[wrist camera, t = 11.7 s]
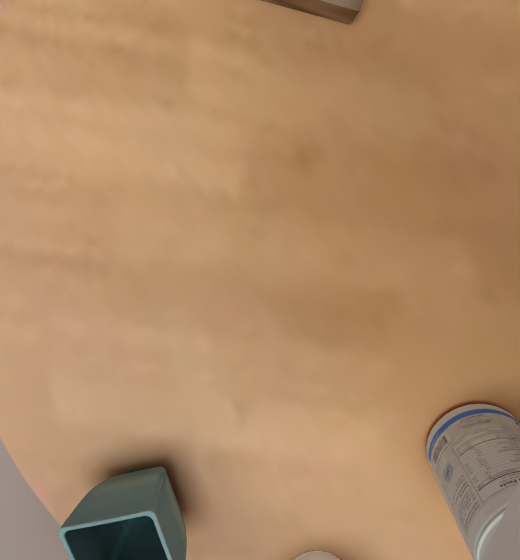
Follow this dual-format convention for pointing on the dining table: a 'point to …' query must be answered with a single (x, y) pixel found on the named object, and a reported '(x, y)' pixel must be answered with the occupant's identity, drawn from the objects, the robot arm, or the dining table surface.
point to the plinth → (325, 8)
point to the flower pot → (127, 520)
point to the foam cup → (317, 556)
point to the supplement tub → (476, 468)
